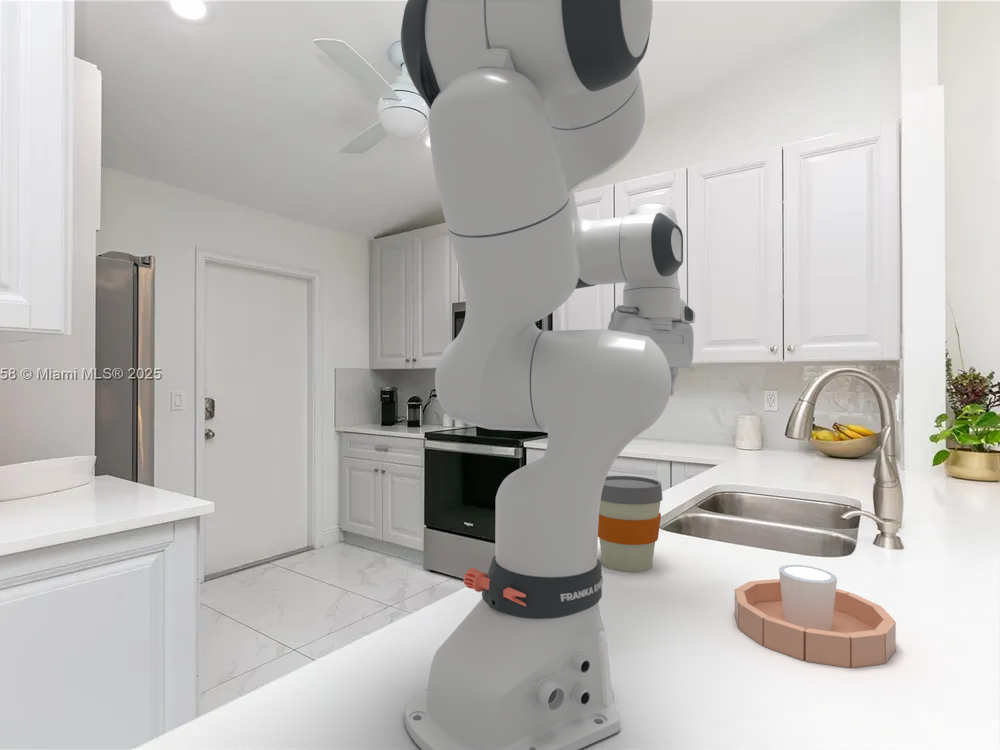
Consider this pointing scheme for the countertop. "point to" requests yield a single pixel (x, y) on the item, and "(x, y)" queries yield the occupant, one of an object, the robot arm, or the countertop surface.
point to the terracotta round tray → (851, 643)
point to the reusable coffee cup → (629, 522)
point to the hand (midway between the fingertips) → (651, 396)
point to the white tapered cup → (808, 596)
